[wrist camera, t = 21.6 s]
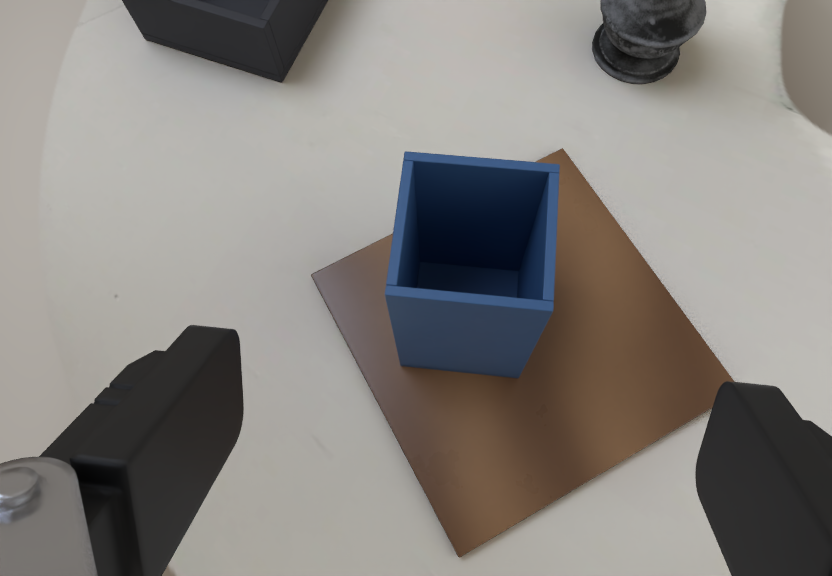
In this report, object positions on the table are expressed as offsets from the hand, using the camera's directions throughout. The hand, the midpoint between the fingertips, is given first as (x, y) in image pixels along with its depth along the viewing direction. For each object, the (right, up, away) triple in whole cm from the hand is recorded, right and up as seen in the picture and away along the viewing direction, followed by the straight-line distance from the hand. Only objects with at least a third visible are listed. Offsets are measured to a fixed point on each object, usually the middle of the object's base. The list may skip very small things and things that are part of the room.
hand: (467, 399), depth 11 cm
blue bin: (+2, 0, +23) cm, 23 cm away
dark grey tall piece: (+13, +17, +29) cm, 36 cm away
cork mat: (+4, 0, +23) cm, 23 cm away
